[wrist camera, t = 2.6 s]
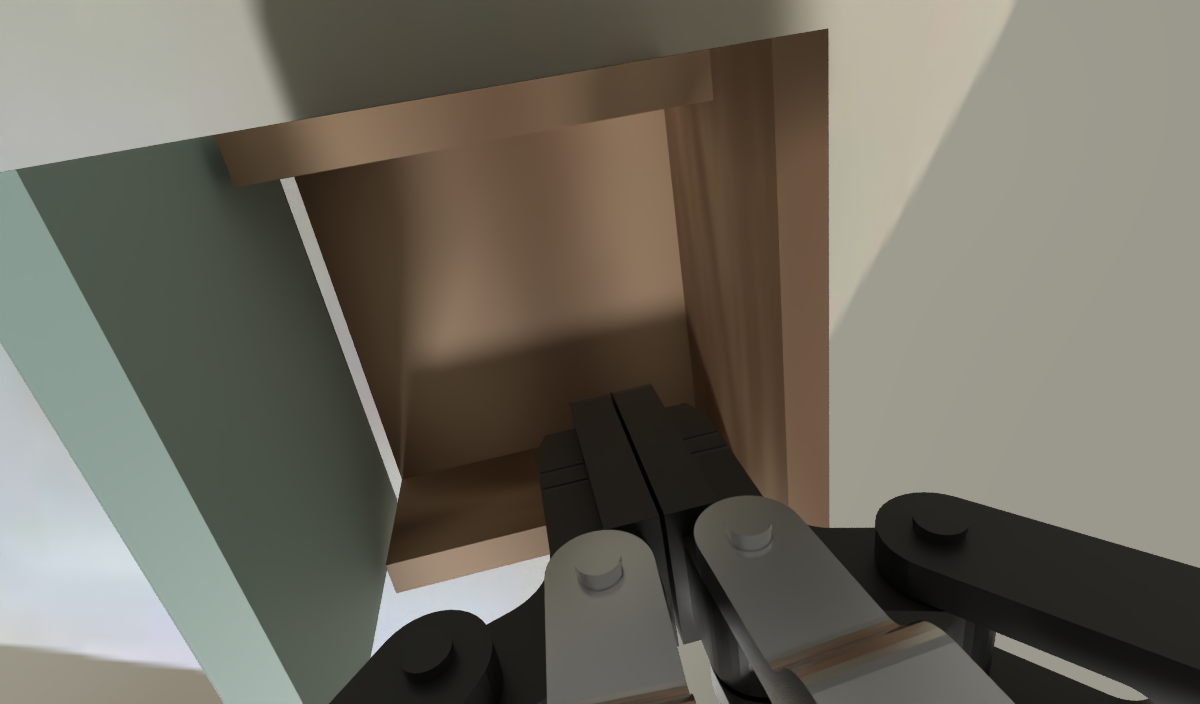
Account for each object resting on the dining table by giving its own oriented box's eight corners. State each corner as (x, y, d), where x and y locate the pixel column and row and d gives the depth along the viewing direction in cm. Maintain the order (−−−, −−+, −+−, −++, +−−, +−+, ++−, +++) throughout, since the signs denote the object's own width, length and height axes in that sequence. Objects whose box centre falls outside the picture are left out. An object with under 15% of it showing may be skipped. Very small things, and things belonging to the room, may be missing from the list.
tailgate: (365, 504, 21) (284, 801, 12) (218, 134, 16) (-95, 188, 7) (400, 495, 21) (346, 784, 12) (266, 126, 16) (14, 169, 7)
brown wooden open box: (418, 455, 23) (380, 689, 14) (305, 119, 18) (136, 148, 9) (698, 390, 24) (829, 569, 15) (663, 56, 19) (828, 27, 10)
